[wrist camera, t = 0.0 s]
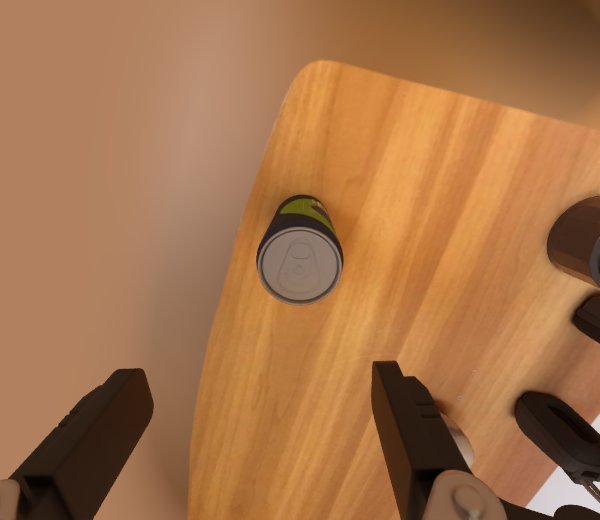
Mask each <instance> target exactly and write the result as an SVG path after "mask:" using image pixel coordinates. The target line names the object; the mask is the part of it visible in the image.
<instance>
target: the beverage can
mask: <svg viewBox="0 0 600 520" xmlns="http://www.w3.org/2000/svg"><path fill="white" fill-rule="evenodd" d="M256 263H257V270H258V273H259V277H260V280H261V282H262V284H263V286H264V287H265V289H266V290H267V291H268V292H269V293H270V294H271V295H272V296H273V297H275V298H276V299H278V300H279V301H281V302H284V303H287V304H290V305H298V306H302V305H310V304H313V303H316V302H319V301H321V300H322V299H324V298H325V297H327V296H328V295H329V294H330V293H331V292H332V291H333V290H334V288H335V287H336V285H337V284H338V282H339V279H340V276H341V272H342V269H343V252H342V248H341V246H340V243H339V240H338V238H337V235H336V233H335V230H334V228H333V225H332V223H331V220H330V218H329V215H328V213H327V210H326V208H325V207H324V206H323V204H322V203H321V202H320V201H318V200H317V199H315V198H313V197H311V196H307V195H297V196H293V197H291V198H289V199H287V200H285V201H284V202H283V203H282V204H281V205H280V207H279V208H278V210H277V212H276V214H275V216H274V218H273V220H272V222H271V224H270V225H269V227H268V229H267V231H266V233H265V235H264V237H263V239H262V241H261V243H260V245H259V248H258V251H257V258H256Z"/></svg>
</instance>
